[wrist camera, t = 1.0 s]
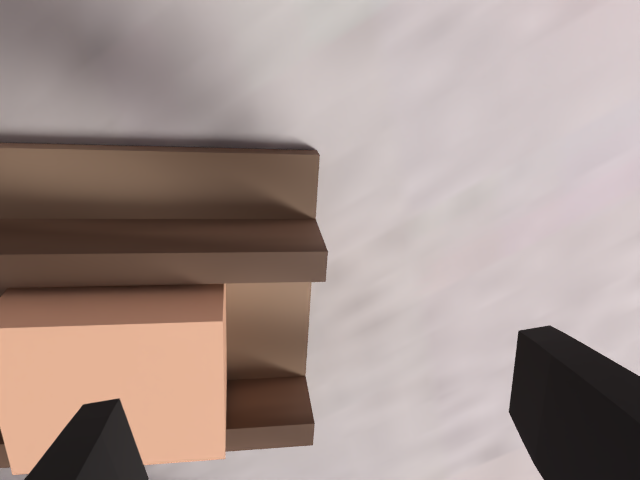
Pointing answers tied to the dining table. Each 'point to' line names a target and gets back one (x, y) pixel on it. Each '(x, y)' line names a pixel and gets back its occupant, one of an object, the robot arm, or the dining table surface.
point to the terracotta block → (115, 366)
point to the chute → (182, 252)
